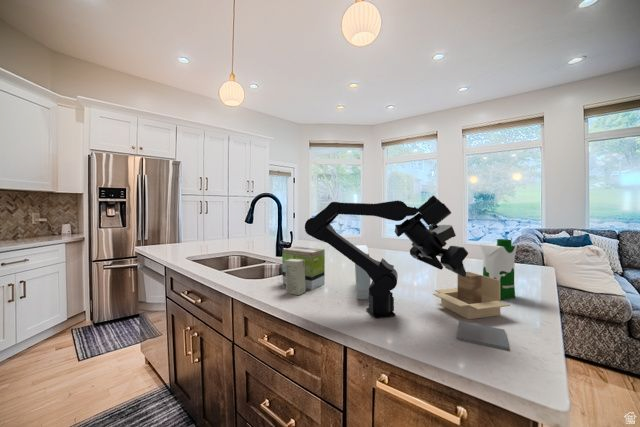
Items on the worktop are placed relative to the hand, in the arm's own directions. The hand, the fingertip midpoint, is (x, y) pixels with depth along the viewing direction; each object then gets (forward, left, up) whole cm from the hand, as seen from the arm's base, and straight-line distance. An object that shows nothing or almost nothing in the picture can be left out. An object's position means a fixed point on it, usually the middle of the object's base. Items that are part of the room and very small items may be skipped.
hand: (452, 271), depth 78 cm
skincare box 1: (-42, +31, -12) cm, 54 cm away
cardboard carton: (+5, 0, -12) cm, 13 cm away
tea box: (-37, +41, -12) cm, 57 cm away
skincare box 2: (-17, +27, -12) cm, 34 cm away
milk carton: (+26, +8, -12) cm, 30 cm away
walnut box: (+6, 0, -12) cm, 14 cm away
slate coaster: (-4, -14, -12) cm, 19 cm away
